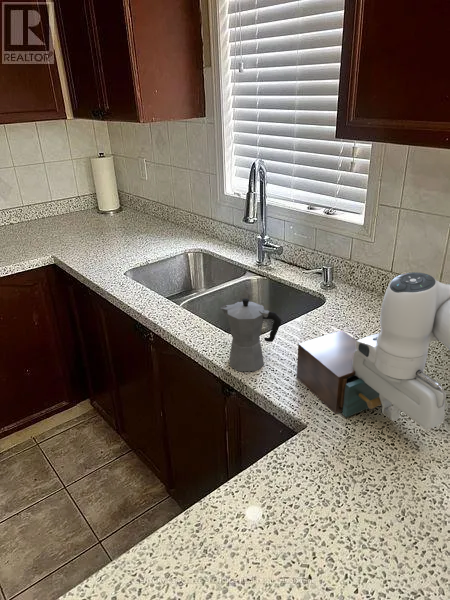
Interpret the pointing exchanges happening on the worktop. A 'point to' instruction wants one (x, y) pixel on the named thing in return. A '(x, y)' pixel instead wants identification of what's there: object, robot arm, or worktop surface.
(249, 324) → the coffeepot
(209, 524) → the worktop surface
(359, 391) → the drawer
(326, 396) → the cabinet
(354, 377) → the clip
